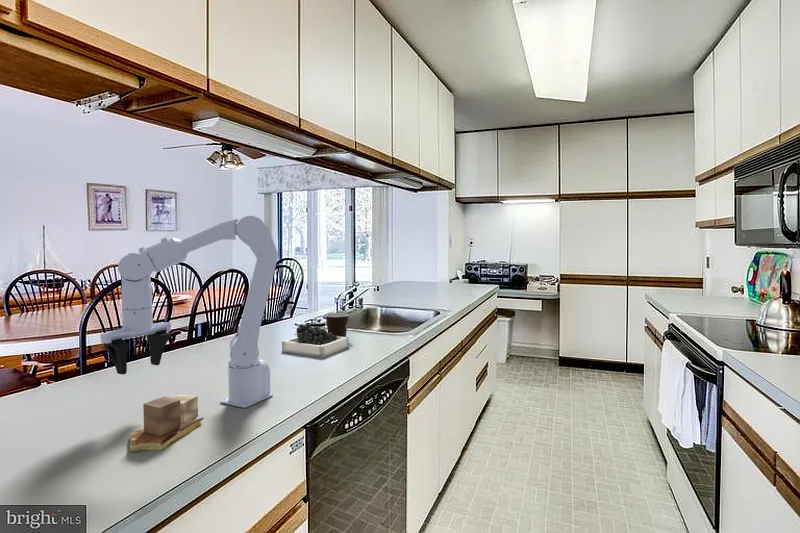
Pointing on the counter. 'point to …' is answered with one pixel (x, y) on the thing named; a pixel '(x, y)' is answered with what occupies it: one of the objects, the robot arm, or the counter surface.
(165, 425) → the walnut block
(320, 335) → the fruit
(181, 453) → the counter surface
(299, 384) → the counter surface
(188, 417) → the maple block
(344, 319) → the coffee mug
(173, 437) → the shard
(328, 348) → the fruit dish
